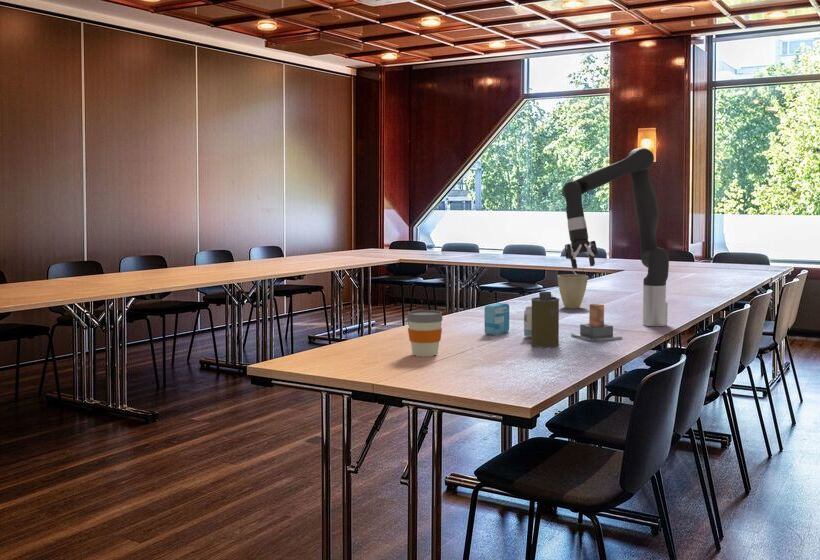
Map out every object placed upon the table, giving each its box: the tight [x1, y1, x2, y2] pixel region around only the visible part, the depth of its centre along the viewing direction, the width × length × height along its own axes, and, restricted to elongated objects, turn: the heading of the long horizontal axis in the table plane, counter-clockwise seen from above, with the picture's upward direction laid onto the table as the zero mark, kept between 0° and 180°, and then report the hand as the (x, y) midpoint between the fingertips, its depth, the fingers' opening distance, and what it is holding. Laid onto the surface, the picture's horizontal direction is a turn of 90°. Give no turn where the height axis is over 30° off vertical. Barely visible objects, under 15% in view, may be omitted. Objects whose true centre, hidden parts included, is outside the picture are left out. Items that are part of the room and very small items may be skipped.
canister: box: [530, 291, 560, 348], centre depth 312 cm, size 11×10×20 cm
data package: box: [484, 302, 510, 336], centre depth 340 cm, size 12×4×12 cm, turn 142°
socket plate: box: [570, 323, 623, 343], centre depth 327 cm, size 14×14×5 cm
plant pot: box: [557, 273, 589, 310], centre depth 414 cm, size 15×15×16 cm
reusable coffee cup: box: [406, 309, 443, 357], centre depth 296 cm, size 13×12×15 cm
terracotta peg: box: [588, 303, 605, 327], centre depth 327 cm, size 4×4×12 cm
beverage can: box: [523, 306, 532, 340], centre depth 329 cm, size 7×7×12 cm
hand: (583, 267), depth 348 cm, fingers open, 8 cm apart
